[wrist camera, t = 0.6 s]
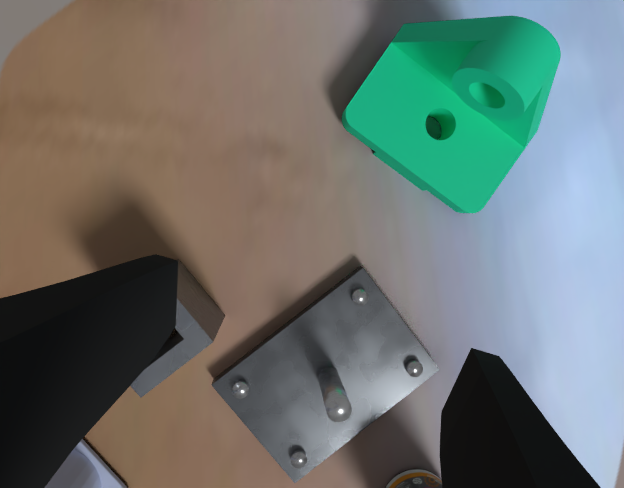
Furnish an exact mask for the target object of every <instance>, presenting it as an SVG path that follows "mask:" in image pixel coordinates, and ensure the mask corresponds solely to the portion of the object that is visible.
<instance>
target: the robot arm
mask: <svg viewBox="0 0 624 488" xmlns="http://www.w3.org/2000/svg"><path fill="white" fill-rule="evenodd" d="M177 283H178V261H177V260H173V259H170V258H167V257H163V256H160V255H157V254H156V255H151V256H147V257H143V258H139V259H136V260H132V261H129V262H126V263H123V264H119V265H116V266H113V267H110V268H106V269H103V270H100V271H97V272H93V273H90V274H87V275H84V276H80V277H77V278H74V279H71V280H67V281H64V282H60V283H57V284H53V285H49V286H46V287H42V288H38V289H35V290H31V291H27V292H24V293H20V294H16V295H12V296H8V297H4V298H0V488H127V487H126V485H125V484H124V483H123V482H122V481H121V480H120V479H119V478H118V477H117V476H116V475H115V474H114V472H113V471H112V470H111V469H110V468H109V467H108V466H107V465H106V464H105V463H104V462H103V461H102V459H101V458H100V457H99V456H98V455H97V454H96V453H95V452H94V451H93V450H92V449H91V448H90V447H89V445H88V444H87V443H86V442H85V441H84V440H83V437H84V436H85V435H86V434H87V433H88V432H89V430H90V429H91V428H92V427H93V426H94V425H95V424H96V423H97V422H98V420H99V419H100V418H101V417H102V416H103V415H104V414H105V413H106V412H107V410H108V409H109V408H110V407H111V406H112V405H113V404H114V403H115V402H116V401H117V399H118V398H119V397H120V396H121V395H122V394H123V393H124V392H125V391H126V389H127V388H128V387H129V386H130V385H131V384H132V383H133V382H134V381H135V379H136V378H137V377H138V376H139V375H140V374H141V373H142V372H143V370H144V369H145V368H146V367H147V366H148V365H149V364H150V362H151V361H152V360H153V359H154V358H155V356H156V355H157V353H158V352H159V350H160V349H161V348H162V346H163V345H164V343H165V342H166V340H167V339H168V337H169V336H170V334H171V333H172V331H173V330H174V328H175V327H176V309H177ZM440 465H441V477H442V488H600V486H599V485H598V484H597V483H596V482H595V480H594V479H593V478H592V477H591V476H590V474H589V473H588V472H587V471H586V470H585V468H584V467H583V466H582V465H581V464H580V462H579V461H578V460H577V459H576V457H575V456H574V455H573V454H572V452H571V451H570V450H569V448H568V447H567V446H566V445H565V443H564V442H563V441H562V440H561V438H560V437H559V436H558V434H557V433H556V432H555V430H554V429H553V428H552V426H551V425H550V424H549V423H548V421H547V420H546V419H545V417H544V416H543V414H542V413H541V412H540V410H539V409H538V408H537V406H536V405H535V404H534V402H533V401H532V400H531V398H530V397H529V395H528V394H527V393H526V391H525V390H524V389H523V387H522V386H521V384H520V383H519V382H518V380H517V379H516V378H515V376H514V375H513V374H512V372H511V371H510V369H509V368H508V367H507V366H506V364H505V363H504V362H503V360H502V359H501V358H500V357H499V356H496V355H493V354H490V353H486V352H483V351H480V350H476V349H473V348H471V350H470V352H469V354H468V356H467V358H466V361H465V363H464V365H463V367H462V369H461V371H460V373H459V376H458V378H457V380H456V382H455V384H454V386H453V388H452V391H451V393H450V395H449V397H448V399H447V401H446V403H445V406H444V408H443V410H442V414H441V433H440Z"/></svg>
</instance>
